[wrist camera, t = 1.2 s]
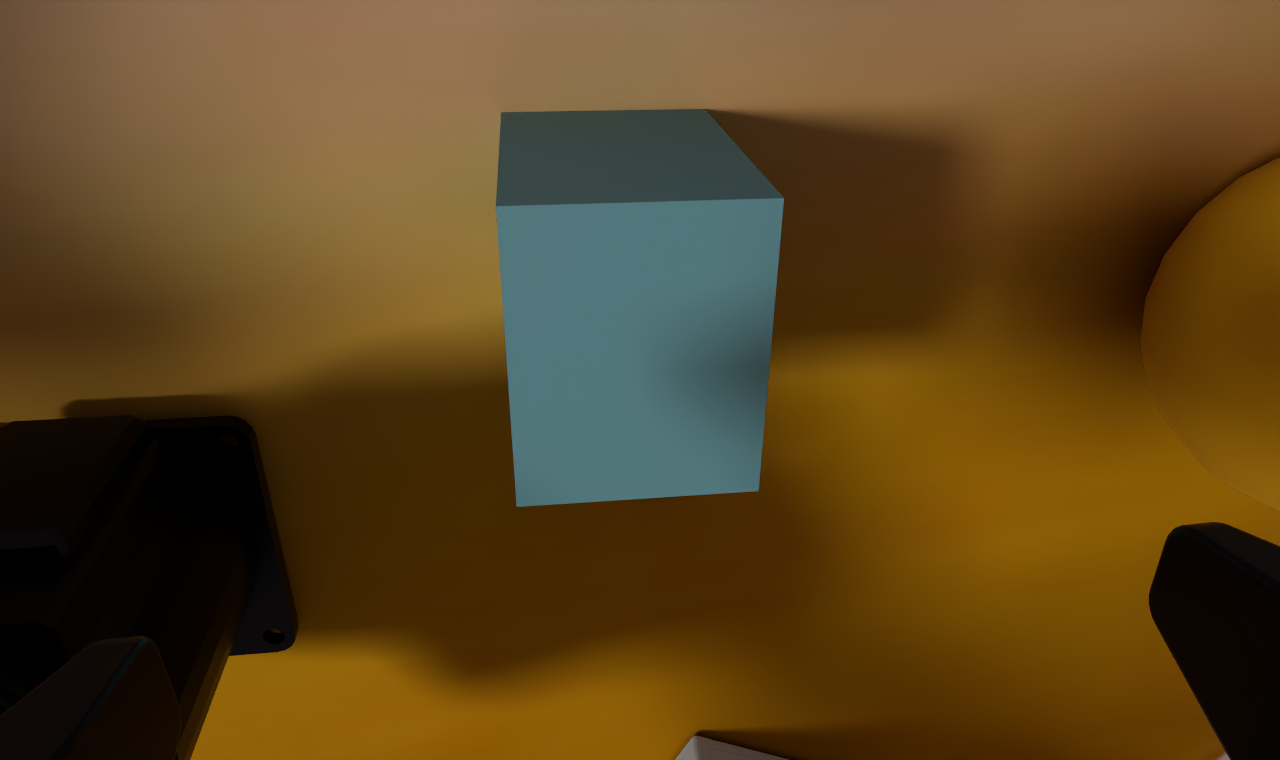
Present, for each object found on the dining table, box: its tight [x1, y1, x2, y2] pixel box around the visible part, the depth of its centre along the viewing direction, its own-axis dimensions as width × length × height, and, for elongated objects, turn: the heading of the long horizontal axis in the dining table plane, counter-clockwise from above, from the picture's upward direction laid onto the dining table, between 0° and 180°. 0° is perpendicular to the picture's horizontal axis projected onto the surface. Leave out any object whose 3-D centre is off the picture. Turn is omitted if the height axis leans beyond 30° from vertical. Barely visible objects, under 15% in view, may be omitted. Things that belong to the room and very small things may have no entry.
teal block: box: [496, 109, 784, 507], centre depth 16 cm, size 5×4×6 cm
